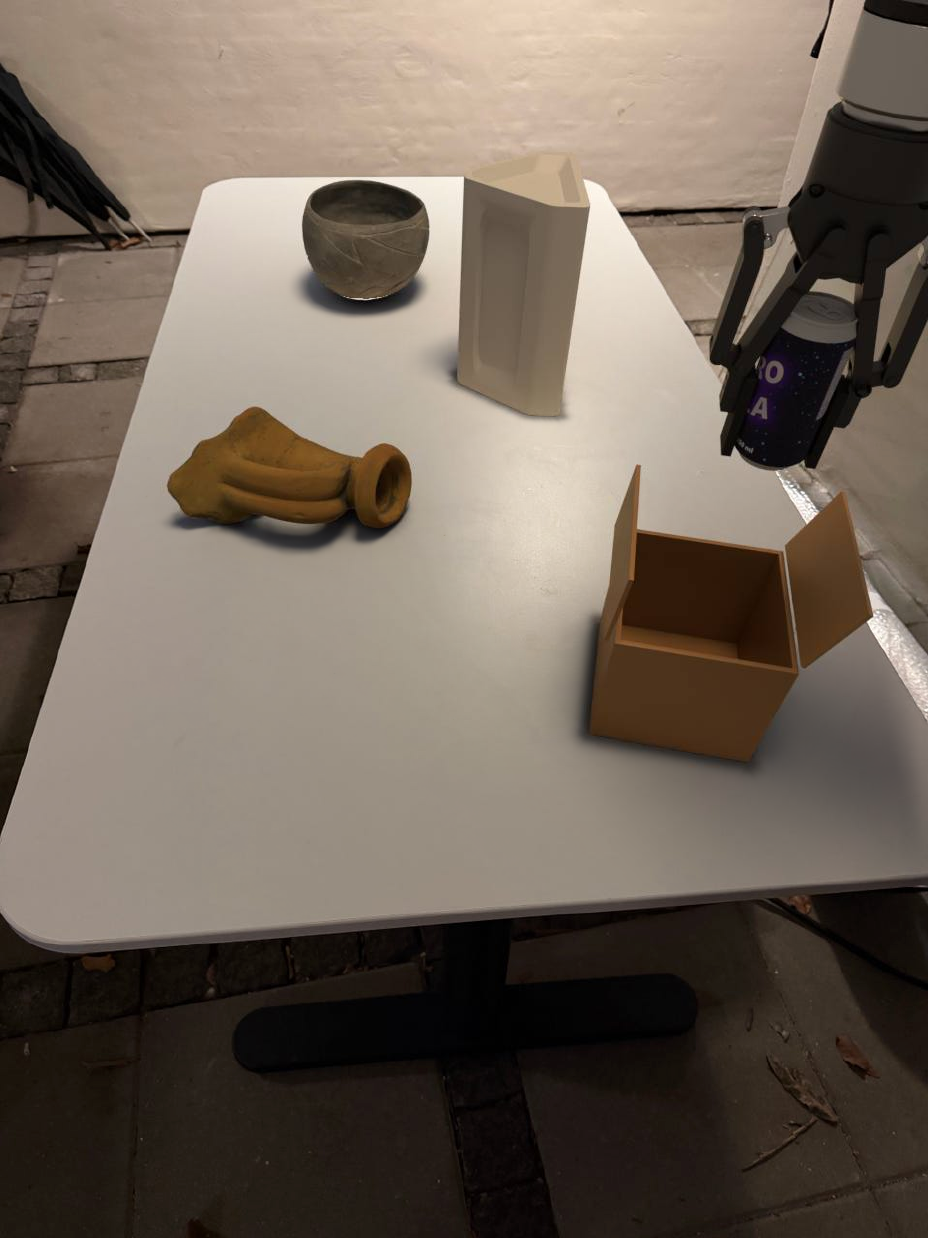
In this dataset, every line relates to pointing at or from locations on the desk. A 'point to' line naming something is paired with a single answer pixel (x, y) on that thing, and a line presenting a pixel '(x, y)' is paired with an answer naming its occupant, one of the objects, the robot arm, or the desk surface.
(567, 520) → the desk surface
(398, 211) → the bowl
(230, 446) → the brown looped sculpture
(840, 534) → the flap
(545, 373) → the tall recessed triangular prism
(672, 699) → the carton
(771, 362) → the beverage can
